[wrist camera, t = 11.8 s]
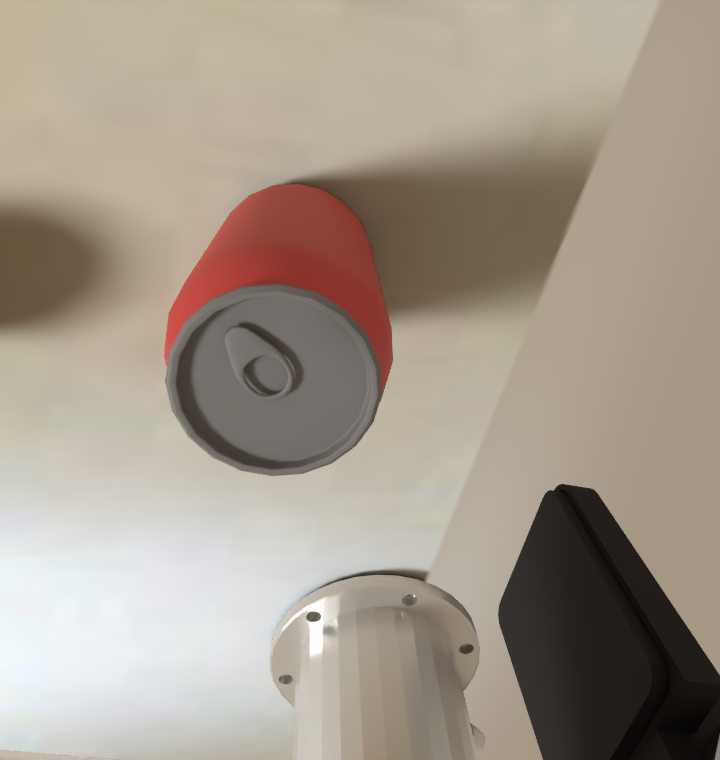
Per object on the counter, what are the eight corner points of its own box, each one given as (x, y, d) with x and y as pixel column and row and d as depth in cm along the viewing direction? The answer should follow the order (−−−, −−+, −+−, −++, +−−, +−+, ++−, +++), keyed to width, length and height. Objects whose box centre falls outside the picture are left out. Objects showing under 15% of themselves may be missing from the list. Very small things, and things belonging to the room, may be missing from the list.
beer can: (318, 148, 24) (314, 211, 14) (398, 284, 27) (446, 424, 16) (186, 234, 26) (87, 352, 15) (275, 355, 28) (244, 528, 18)
